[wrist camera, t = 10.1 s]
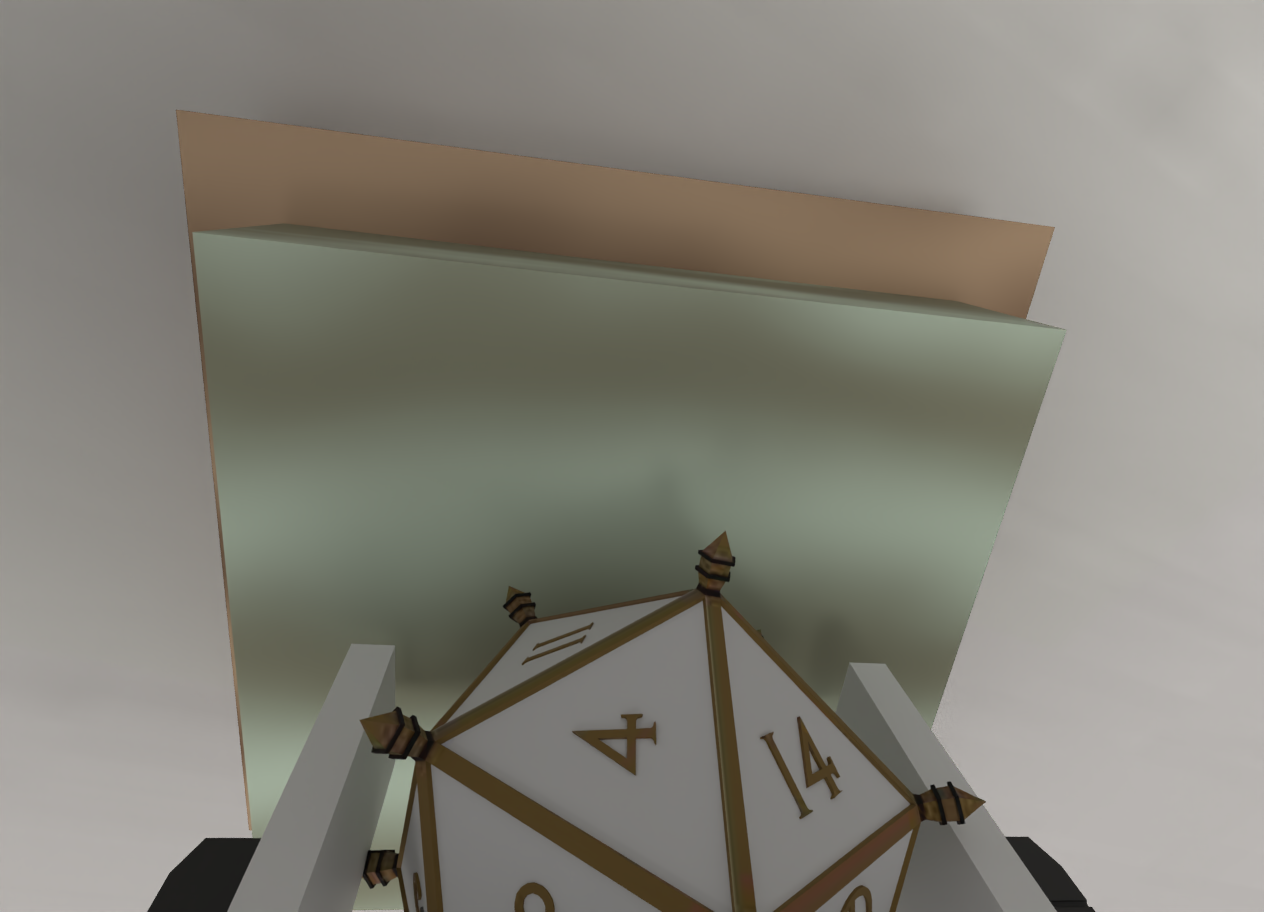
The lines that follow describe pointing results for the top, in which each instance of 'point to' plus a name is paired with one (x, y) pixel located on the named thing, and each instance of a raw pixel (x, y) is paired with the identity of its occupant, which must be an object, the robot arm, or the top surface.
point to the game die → (647, 774)
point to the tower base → (585, 414)
